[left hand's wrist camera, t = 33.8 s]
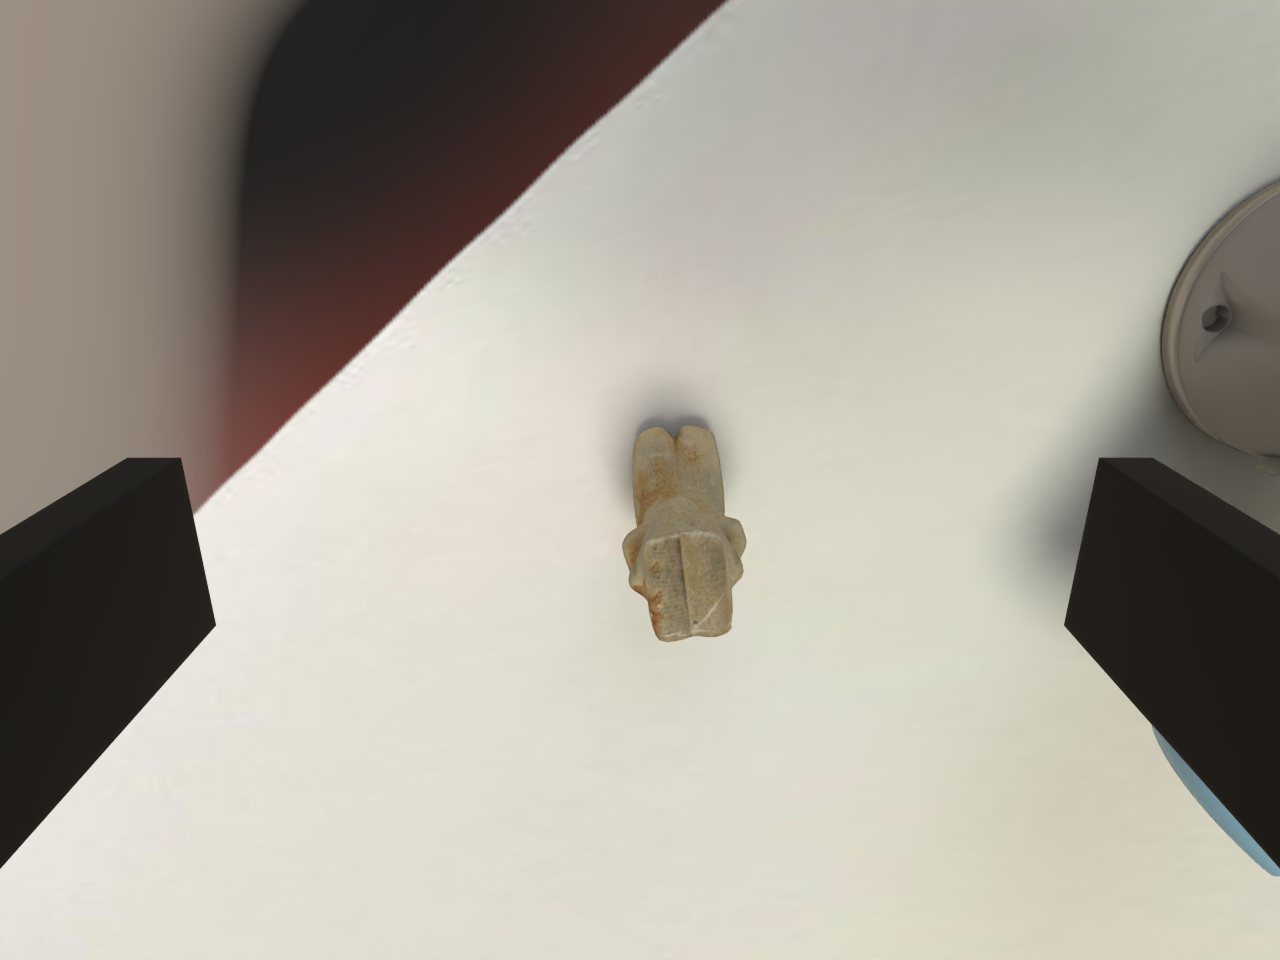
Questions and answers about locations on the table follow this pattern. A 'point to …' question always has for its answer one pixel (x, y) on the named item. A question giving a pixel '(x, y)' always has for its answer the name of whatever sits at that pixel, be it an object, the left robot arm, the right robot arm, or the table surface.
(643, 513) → the sculpture
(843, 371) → the table surface
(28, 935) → the table surface
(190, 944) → the table surface
